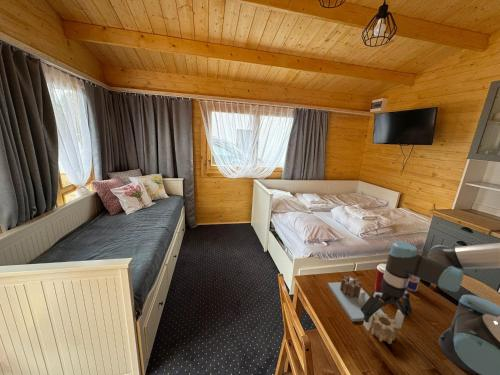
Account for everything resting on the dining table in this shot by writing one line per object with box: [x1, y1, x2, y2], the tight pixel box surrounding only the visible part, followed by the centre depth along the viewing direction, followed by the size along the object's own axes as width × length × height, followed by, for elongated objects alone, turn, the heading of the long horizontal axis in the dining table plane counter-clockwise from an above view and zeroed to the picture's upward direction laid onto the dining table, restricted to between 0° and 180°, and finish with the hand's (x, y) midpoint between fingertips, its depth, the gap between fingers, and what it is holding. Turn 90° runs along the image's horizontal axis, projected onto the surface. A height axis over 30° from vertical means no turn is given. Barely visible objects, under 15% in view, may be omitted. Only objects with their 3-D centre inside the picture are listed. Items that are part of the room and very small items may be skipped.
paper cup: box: [374, 263, 387, 293], centre depth 105 cm, size 8×8×14 cm
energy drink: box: [406, 274, 421, 293], centre depth 108 cm, size 5×5×12 cm
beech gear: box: [370, 312, 399, 345], centre depth 83 cm, size 9×9×6 cm
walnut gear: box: [340, 275, 362, 298], centre depth 103 cm, size 9×9×6 cm
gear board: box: [327, 278, 385, 322], centre depth 99 cm, size 22×16×8 cm
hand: (381, 326), depth 83 cm, fingers open, 13 cm apart
